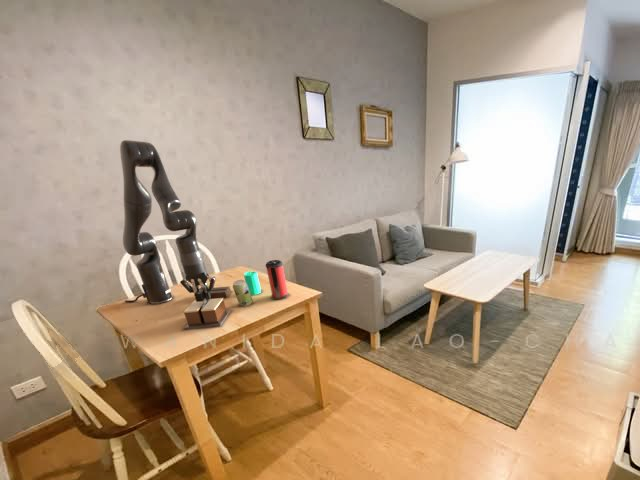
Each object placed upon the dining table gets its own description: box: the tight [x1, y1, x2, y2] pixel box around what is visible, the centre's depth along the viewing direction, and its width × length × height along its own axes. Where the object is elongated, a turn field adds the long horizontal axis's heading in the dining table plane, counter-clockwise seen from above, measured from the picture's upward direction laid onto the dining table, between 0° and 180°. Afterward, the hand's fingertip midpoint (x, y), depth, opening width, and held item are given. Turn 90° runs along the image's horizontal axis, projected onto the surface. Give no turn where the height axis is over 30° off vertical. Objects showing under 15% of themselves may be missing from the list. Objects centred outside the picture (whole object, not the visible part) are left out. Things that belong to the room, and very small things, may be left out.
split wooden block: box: [183, 298, 231, 330], centre depth 141 cm, size 14×14×7 cm
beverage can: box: [232, 279, 253, 307], centre depth 153 cm, size 6×7×12 cm
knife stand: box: [210, 286, 232, 299], centre depth 166 cm, size 11×8×3 cm
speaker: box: [265, 259, 289, 300], centre depth 160 cm, size 8×8×18 cm
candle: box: [243, 270, 262, 296], centre depth 166 cm, size 6×6×12 cm
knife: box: [193, 286, 210, 308], centre depth 140 cm, size 9×2×12 cm, turn 10°
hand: (204, 300), depth 140 cm, fingers closed on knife, 2 cm apart
